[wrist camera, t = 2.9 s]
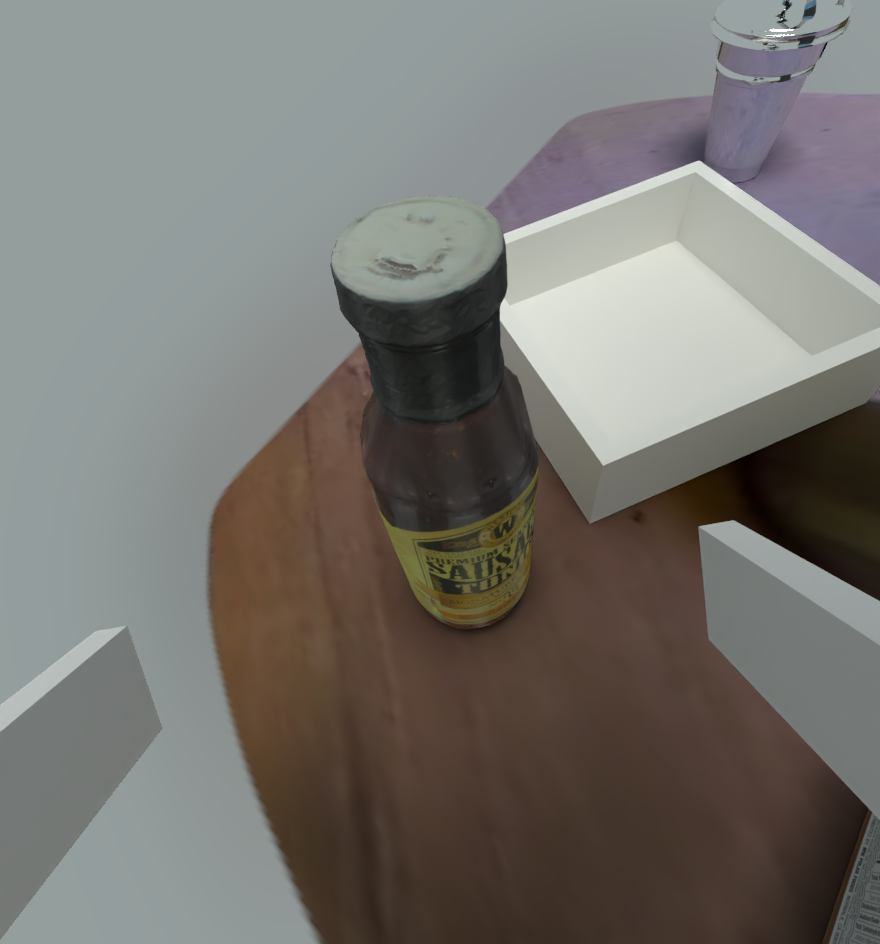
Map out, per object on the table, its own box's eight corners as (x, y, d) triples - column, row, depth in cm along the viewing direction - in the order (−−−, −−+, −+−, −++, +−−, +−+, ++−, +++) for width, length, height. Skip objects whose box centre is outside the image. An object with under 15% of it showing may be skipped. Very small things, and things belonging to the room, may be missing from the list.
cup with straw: (752, 209, 41) (910, -204, 24) (650, 175, 45) (725, -198, 28) (807, 158, 43) (987, -251, 26) (706, 130, 47) (806, -238, 31)
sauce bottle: (456, 660, 26) (330, 412, 9) (393, 565, 29) (215, 252, 12) (559, 585, 27) (612, 248, 11) (488, 501, 30) (442, 140, 14)
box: (677, 240, 40) (699, 160, 35) (866, 402, 30) (934, 323, 25) (462, 324, 38) (452, 253, 33) (589, 523, 29) (603, 465, 24)
